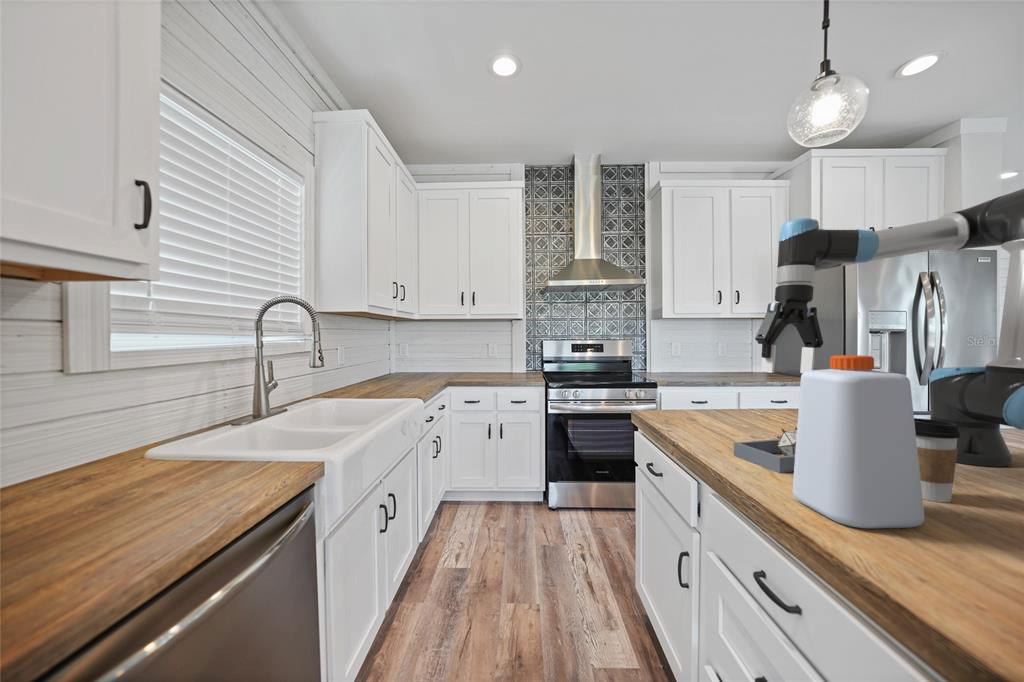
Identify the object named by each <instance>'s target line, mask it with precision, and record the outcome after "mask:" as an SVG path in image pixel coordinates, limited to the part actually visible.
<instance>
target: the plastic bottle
mask: <svg viewBox="0 0 1024 682" xmlns="http://www.w3.org/2000/svg"><path fill="white" fill-rule="evenodd" d="M912 397H913V396H912V385H911V381H910V379H909V378H908V376H907V375H905V374H901V373H897V372H889V371H881V370H875V358H874V357H873V356H872V355H860V354H859V355H851V354H849V355H848V354H847V355H845V354H844V355H843V354H842V355H841V354H838V355H837V354H836V355H831V356H830V357H829V368H826V369H814V370H810V371H806V372H804V373H801V376H800V384H799V397H798V398H799V399H798V409H797V411H798V414H797V423H796V424H797V425H796V427H797V437H796V450H795V464H794V472H793V479H792V480H793V481H792V495H793V497H794V498H795V499H796V501H798V502H800V503H801V504H802V505H805V506H807V507H808V508H810V509H811V510H813V511H815V512H817V513H819V514H821V515H822V516H824V517H827V518H828V519H830V520H832V521H834V522H836V523H839V524H842V525H845V526H847V527H851V528H852V527H853V528H859V529H901V528H902V529H903V528H904V529H905V528H909V529H910V528H917V527H919V526H921V525H922V524H923V523H925V519H926V518H925V510H924V509H925V508H924V500H923V498H922V489H921V480H920V470H919V461H918V451H917V442H916V432H915V423H914V418H915V415H914V405H913V398H912Z"/></svg>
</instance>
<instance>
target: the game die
mask: <svg viewBox="0 0 1024 682" xmlns="http://www.w3.org/2000/svg"><path fill="white" fill-rule="evenodd" d="M781 431H782V433H781V435H780V436H778V435H777V436H776V438H777V439H779V442H778V446H775V447H774V448H779V449H780V450H781V451H782V452H783V453H782V454H783V455H782V456H789V455H795V450H796V437H797V426H796V427H794V429H793V430H785V429H783V428H781Z"/></svg>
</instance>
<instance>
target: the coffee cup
mask: <svg viewBox="0 0 1024 682" xmlns="http://www.w3.org/2000/svg"><path fill="white" fill-rule="evenodd" d="M914 423H915V432H916V442H917V451H918V461H919V470H920V480H921V489H922V498H923V499H926V500H925V501H928V500H930V501H929V502H933V501H935V502H934V503H950V502H952V496H953V486H954V485H953V484H954V480H955V473H956V465H957V462H956V459H957V451H958V448H957V447H956V446H957V438H960V432H959V431H958V427H957V424H955V423H951V422H946V421H939V420H931V418H930V419H929V418H915V417H914Z"/></svg>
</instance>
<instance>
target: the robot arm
mask: <svg viewBox="0 0 1024 682" xmlns="http://www.w3.org/2000/svg"><path fill="white" fill-rule="evenodd" d="M819 225H820V224H819V221H818V220H817V219H815V218H809V217H808V218H806V217H805V218H802V217H801V218H794V219H791V220H788V221H786V222H784V223H783V224H782V225H781V227H780V231H779V238H778V242H777V243H778V250H777V254H778V256H777V268H776V269H777V270H776V280H775V284H777V286H776V287H775V291H774V293H775V294H774V301H775V302H773V303H772V302H770V303H768V304H767V309H766V313H765V315H764V318H763V320H762V322H761V323H760V326H759V328H758V331H757V333H756V335H755V338H754V339H755V341H756V342H757V344H758V345H761V369H760V371H761V373H762V372H763V373H772V374H774V373H775V366H776V353H777V345H776V344H775V341H777V339H778V338H779V337H780V335H781V333H782V332H783V331H784V330H785V328H786V326H788V325H792V326H794V327H795V328H796V330H797V333H798V335H799V336H800V339H801V340H802V343H803V344H804V346H803V347H801V357H800V358H801V359H800V371H799V373H800V374H803V373H804V372H806V371H810V370H815V362H816V361H815V360H816V354H817V353H816V350H817V348H818V349H819V348H822V346H823V345H824V340H823V336H822V332H821V328H820V325H819V324H820V323H819V320H818V309H817V306H816V307H814V306H812V307H808V303H811V302H812V301H813V300H814V286H813V285H812V284H814V283H815V277H816V276H815V275H816V272H817V271H822V270H829V269H834V268H838V267H845V266H850V265H856V264H863V263H868V262H873V261H878V260H883V259H889V258H896V257H902V256H907V255H913V254H918V253H919V254H920V253H924V252H931V251H936V250H942V251H947V252H953V251H959V250H968V249H975V248H976V249H977V248H985V247H988V248H989V247H997V246H998V247H999V246H1000V248H1002V249H1003V250H1005V251H1006V252H1008V254H1010V255H1009V260H1008V261H1009V262H1008V269H1007V278H1006V286H1005V292H1004V299H1003V300H1004V301H1003V309H1002V318H1001V325H1000V332H999V340H998V346H997V347H998V349H997V355H996V356H997V357H996V358H995V359H993V360H991V361H989V362H988V363H986V364H985V366H959V367H958V366H956V367H955V366H954V367H939V368H934V369H933V370H932V371H931V372H930V375H929V376H930V377H929V382H928V384H929V405H930V410H929V411H930V413H929V414H930V416H929V417H930V420H939V421H946V422H951V423H955V424H957V427H958V431H959V432H960V438H957V446H956V447H957V448H958V451H957V459H956V463H958V464H965V465H972V466H983V467H1002V468H1003V467H1009V466H1012V463H1013V462H1012V459H1013V458H1012V454H1011V452H1010V449H1009V448H1008V445H1007V443H1006V441H1005V440H1004V437H1003V435H1002V433H1001V426H1006V427H1010V428H1015V429H1018V430H1020V431H1023V430H1024V188H1021V189H1019V190H1016V191H1013V192H1011V193H1008V194H1004V195H1000V196H997V197H995V198H992V199H990V200H987V201H985V202H981V203H979V204H976V205H974V206H971V207H967V208H964V209H962V210H958V211H953V212H948V213H945V214H942V215H941V216H940V217H939V218H938V219H933V220H932V219H931V220H927V221H922V222H916V223H911V224H907V225H906V224H905V225H901V226H896V227H890V228H885V229H880V230H874V231H873V230H867V229H859V228H857V229H824V228H820V226H819Z"/></svg>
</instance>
